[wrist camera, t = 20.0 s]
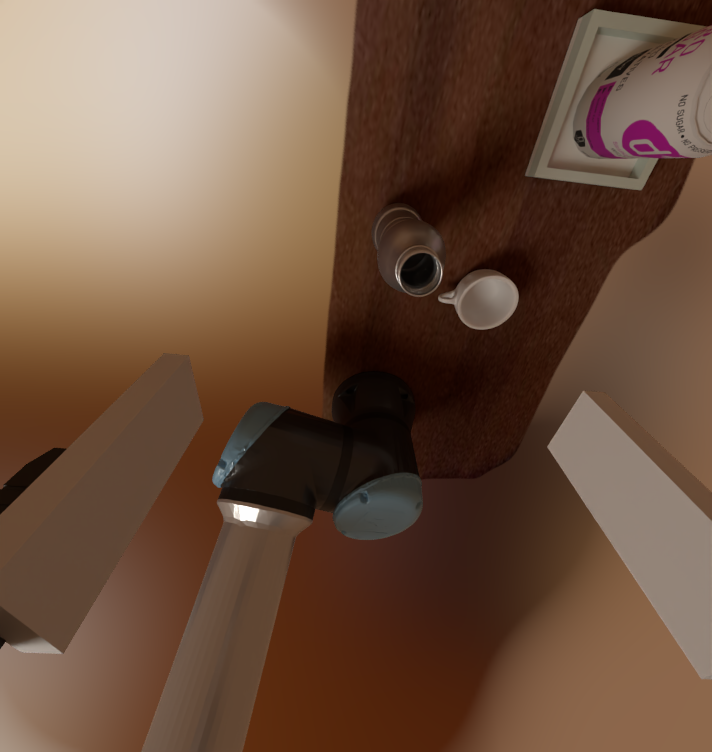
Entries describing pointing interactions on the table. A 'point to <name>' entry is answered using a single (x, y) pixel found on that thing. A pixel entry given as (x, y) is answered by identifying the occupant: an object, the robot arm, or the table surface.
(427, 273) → the plastic bottle
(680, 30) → the can tray
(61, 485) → the robot arm
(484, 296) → the teacup
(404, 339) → the table surface
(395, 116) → the table surface
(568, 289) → the table surface
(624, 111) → the supplement can
